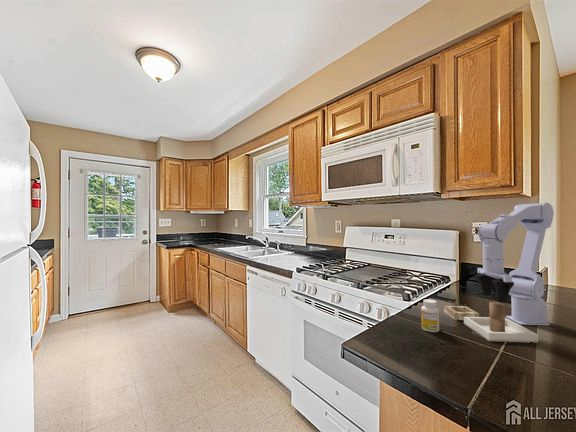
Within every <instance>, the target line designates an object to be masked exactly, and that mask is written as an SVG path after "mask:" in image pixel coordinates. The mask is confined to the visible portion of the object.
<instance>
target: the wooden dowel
mask: <svg viewBox="0 0 576 432" xmlns="http://www.w3.org/2000/svg"><path fill="white" fill-rule="evenodd" d="M488 303H489V305H488V307H489V309H488V310H489V317H490V330H491V331H493V332H505V318H506V311H505V304H504V302H498V301H489V302H488Z"/></svg>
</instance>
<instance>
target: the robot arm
mask: <svg viewBox="0 0 576 432" xmlns="http://www.w3.org/2000/svg"><path fill="white" fill-rule="evenodd" d="M554 213H555V211H554V208H553V205H552V204H550V203H549V202H541V203H539V202H538V203H518V204H516V205H515V206H514V208H513V211H511V212H510V213H509V214H504V213H503V214H500V215H499V217H497V218H496V219H493V220H492V221H491V222H490V223H484V224H482V225H481V226H479V229H478V232H477V235H478V238H479V239H480V245H481V246H482V267H477V274H475V275H474V276H475V279H476V280H477V282H478V283H479V286H480V289H481V293H482V295H483V296H484V297H487V296H489V297H490V296H491V294H492V286H494V289H495V295H496V302H499V303H506V302H507V299H508V296H510V297H511V298H510V299H511V300H510V301H511V304H510V305H511V315H505V318H507V319H509V320H511V321H513V322H515V323H517V324H519V325H521V326H550V323H549V322H548V305H547V302H546V301H545V300H544V299H543V298H542V297H543V296H544V294H545V279H544V278H543V277H542V276H541V275H540V274H539V273H537V269H538V265H539V262H540V257H541V252H542V249H543V244H544V239H545V236H546V231H547V229H549V228H551V227H552V224H553V221H554V220H553V219H554V216H555V214H554ZM518 223H519V224H520V226H521V227H522V228H525V229H526V231H527V232H526V235H525V240H524V244H523V248H522V251H521V255H520V259H519V263H518V267H517V268H516V269H514V270H511V271H510V272H508V273H509V274H508V273H506V272H505V263H504V262H505V260H504V255H505V253H504V241H506V240H507V238H508V235H509V234H510V232H512V231H513V230H514V229H516V228H517V226H518Z"/></svg>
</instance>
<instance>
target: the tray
mask: <svg viewBox="0 0 576 432" xmlns="http://www.w3.org/2000/svg"><path fill="white" fill-rule="evenodd" d="M463 324H464V325H465V326H467V327H468V328H469V329H471V330H472V331H474V332H475V333H476V334H478V335H480V336H481V338H482V337H483V338H484V339H486V340H487V341H488V342H500V343H501V342H502V343H503V342H504V343H505V342H507V343H530V342H533V343H536V344H539V334H538V333H536V332H534V331H532V330H531V329H528V328H526V327H524V325H521V324H519V323H517V322H515V321H513V320H511V319H509V318H507V317H505V332H493V331H491V330H490V316H488V317H487V316H485V317H484V316H479V317H464V320H463Z"/></svg>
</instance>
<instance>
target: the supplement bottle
mask: <svg viewBox="0 0 576 432" xmlns="http://www.w3.org/2000/svg"><path fill="white" fill-rule="evenodd" d="M437 303H438V302H437V300H434V299H430V298H429V299H428V298H427V299H423V305H422V306H421V309H420V310H421V313H420V314H421V318H420V319H421V329H422V330H423V331H426V332H429V333H438V332H439V331H440V310H439V308H438V304H437Z"/></svg>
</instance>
